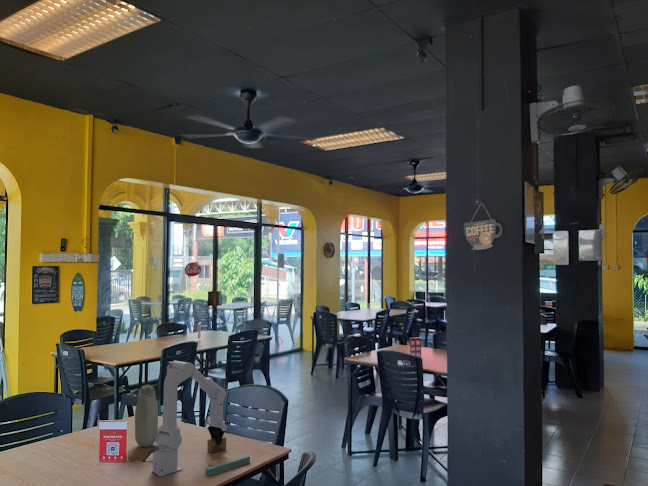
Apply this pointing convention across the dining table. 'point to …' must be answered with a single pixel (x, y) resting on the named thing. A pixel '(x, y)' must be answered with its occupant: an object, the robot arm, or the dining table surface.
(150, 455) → the chocolate bar
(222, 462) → the tile
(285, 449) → the dining table surface
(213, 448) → the tall cardboard box
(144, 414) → the olive grey vase
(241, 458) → the rail
